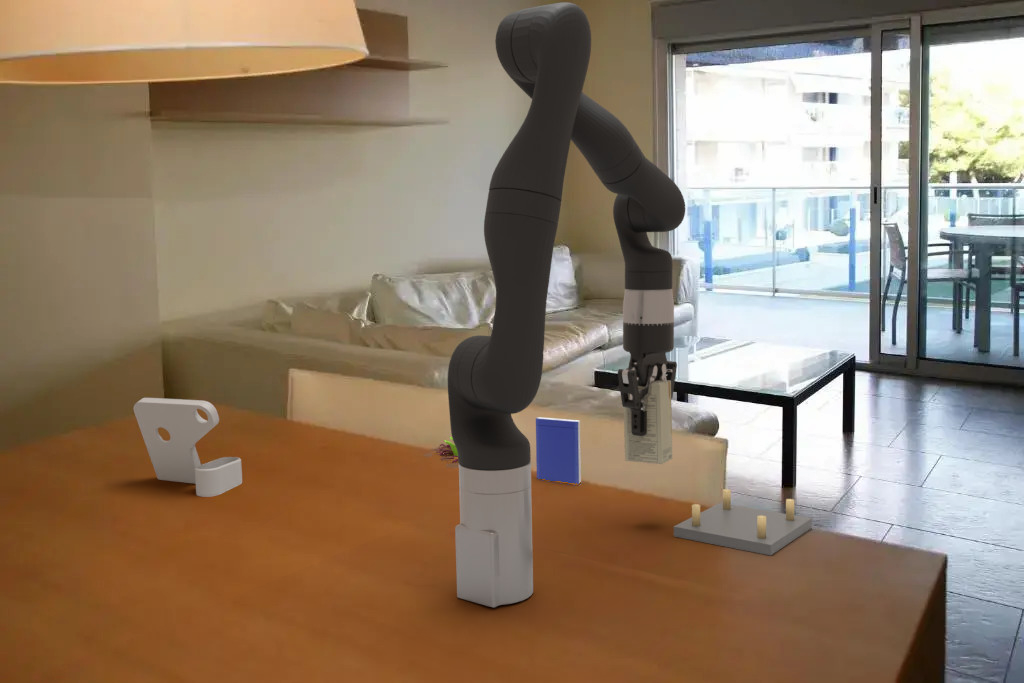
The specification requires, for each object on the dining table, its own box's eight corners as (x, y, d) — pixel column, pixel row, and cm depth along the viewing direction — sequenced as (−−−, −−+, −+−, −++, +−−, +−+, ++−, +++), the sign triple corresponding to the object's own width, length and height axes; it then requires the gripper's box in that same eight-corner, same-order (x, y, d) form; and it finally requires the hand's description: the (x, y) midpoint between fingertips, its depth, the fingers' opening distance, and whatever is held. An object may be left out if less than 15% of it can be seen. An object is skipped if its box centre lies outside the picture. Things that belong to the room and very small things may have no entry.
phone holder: (250, 492, 173) (245, 392, 171) (214, 507, 163) (208, 402, 161) (171, 485, 179) (165, 389, 177) (131, 499, 169) (125, 398, 167)
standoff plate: (770, 555, 133) (771, 523, 133) (673, 536, 142) (673, 506, 142) (811, 528, 145) (812, 498, 144) (719, 512, 154) (719, 484, 154)
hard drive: (578, 492, 168) (577, 421, 166) (536, 487, 172) (534, 418, 170) (581, 490, 169) (580, 420, 168) (540, 485, 173) (538, 416, 172)
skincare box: (673, 460, 147) (673, 380, 145) (661, 465, 143) (662, 383, 142) (634, 455, 150) (634, 377, 149) (622, 461, 146) (622, 380, 145)
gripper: (646, 324, 136) (645, 443, 138) (693, 317, 148) (692, 427, 149) (601, 322, 141) (601, 437, 143) (650, 315, 152) (649, 422, 154)
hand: (647, 431), depth 146 cm, fingers closed on skincare box, 4 cm apart
